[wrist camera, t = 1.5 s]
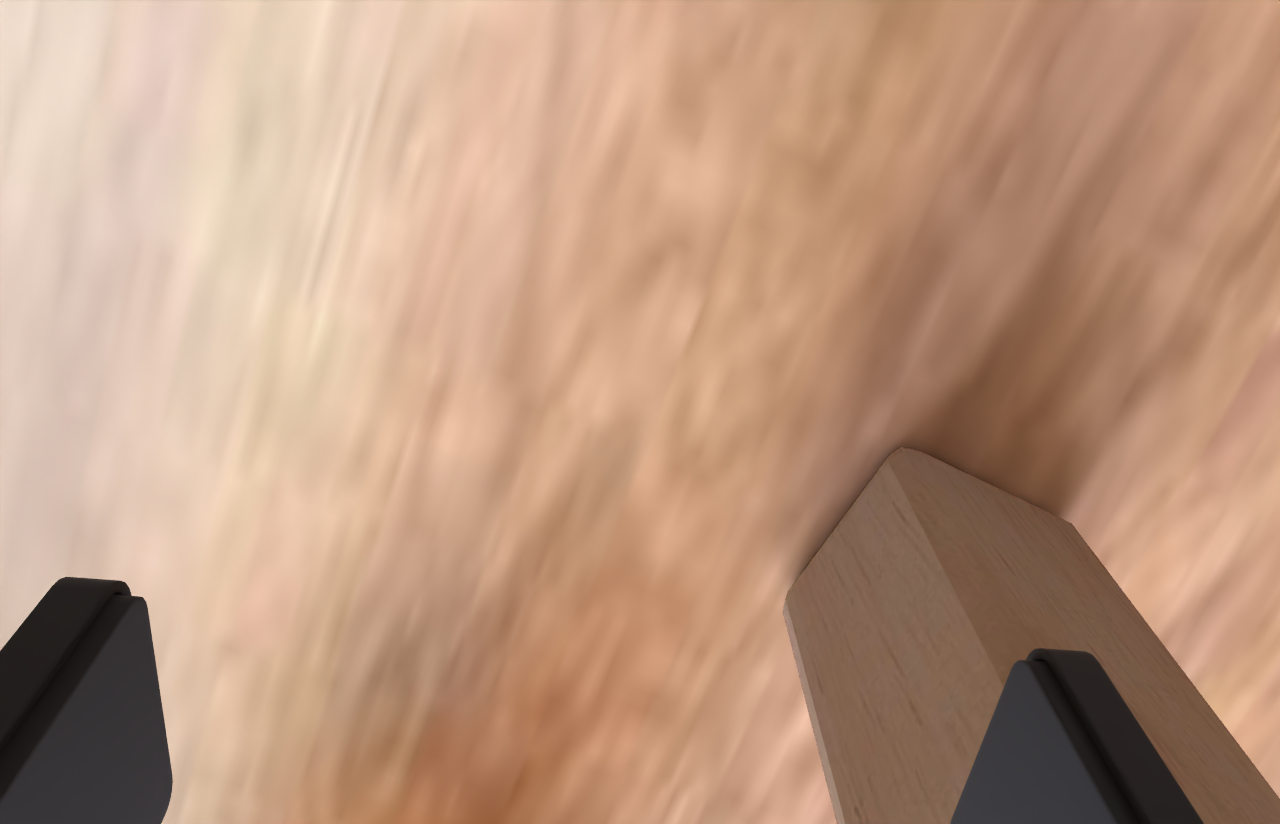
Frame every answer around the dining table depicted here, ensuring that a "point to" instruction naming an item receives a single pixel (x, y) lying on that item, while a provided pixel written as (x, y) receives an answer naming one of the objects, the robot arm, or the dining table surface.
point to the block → (975, 647)
